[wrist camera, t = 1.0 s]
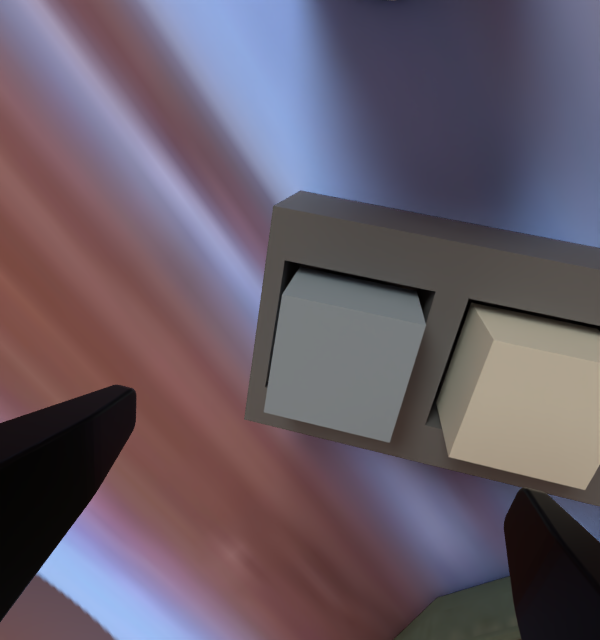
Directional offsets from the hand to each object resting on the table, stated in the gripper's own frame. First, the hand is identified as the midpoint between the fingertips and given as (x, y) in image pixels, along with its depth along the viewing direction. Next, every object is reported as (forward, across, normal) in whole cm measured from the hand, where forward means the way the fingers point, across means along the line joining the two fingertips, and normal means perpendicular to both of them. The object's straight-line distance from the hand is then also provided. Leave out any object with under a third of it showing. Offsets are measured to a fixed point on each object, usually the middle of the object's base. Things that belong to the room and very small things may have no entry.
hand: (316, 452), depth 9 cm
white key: (+7, -6, 0) cm, 9 cm away
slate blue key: (+7, 0, 0) cm, 7 cm away
